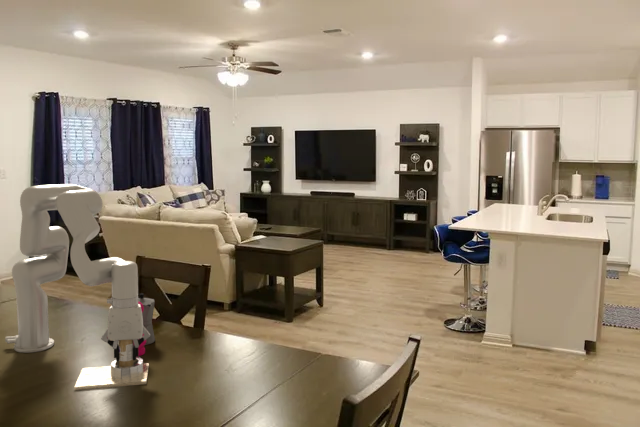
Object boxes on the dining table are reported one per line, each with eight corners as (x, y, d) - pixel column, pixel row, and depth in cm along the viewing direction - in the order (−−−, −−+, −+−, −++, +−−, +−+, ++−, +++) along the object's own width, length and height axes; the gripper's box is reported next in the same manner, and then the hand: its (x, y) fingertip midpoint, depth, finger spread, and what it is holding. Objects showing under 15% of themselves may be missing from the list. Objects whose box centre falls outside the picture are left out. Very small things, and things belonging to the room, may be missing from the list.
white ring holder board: (74, 390, 158) (73, 375, 158) (82, 371, 172) (82, 357, 171) (146, 383, 163) (146, 369, 163) (148, 365, 177) (148, 352, 176)
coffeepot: (163, 343, 198) (162, 294, 196) (138, 349, 191) (137, 299, 189) (143, 332, 209) (142, 286, 207) (119, 337, 202) (118, 290, 200)
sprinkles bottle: (116, 369, 168) (114, 327, 167) (129, 364, 172) (128, 323, 170) (123, 373, 165) (122, 330, 164) (137, 368, 169) (136, 327, 167)
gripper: (93, 306, 160) (95, 366, 162) (153, 303, 164) (154, 361, 167) (97, 299, 167) (99, 356, 170) (154, 297, 172) (155, 352, 174)
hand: (126, 358), depth 168 cm, fingers closed on sprinkles bottle, 4 cm apart
